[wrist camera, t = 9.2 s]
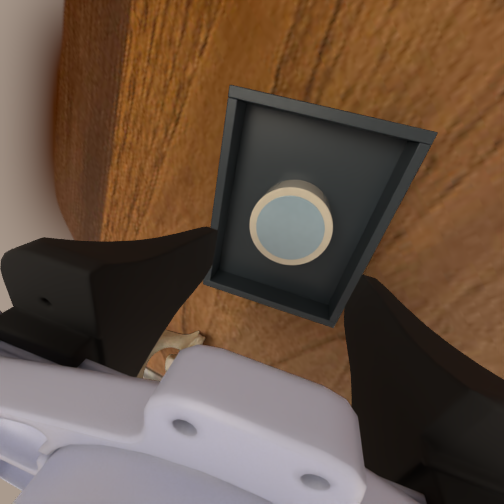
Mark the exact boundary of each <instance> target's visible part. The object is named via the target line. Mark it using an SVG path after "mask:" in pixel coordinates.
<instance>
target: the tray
mask: <svg viewBox="0 0 504 504" xmlns="http://www.w3.org/2000/svg"><path fill="white" fill-rule="evenodd" d="M228 97H229V98H228V102H227V109H226V117H225V124H224V132H223V139H222V146H221V154H220V161H219V169H218V176H217V184H216V191H215V198H214V206H213V213H212V221H211V228H213V229H216V230H218V233H217V240H216V246H215V253H214V259H213V265H212V266H211V268H210V270H209V271H208V273H207V275H206V276H205V278H204V280H203V284H204V285H207V286H210V287H213V288H216V289H219V290H222V291H225V292H228V293H231V294H234V295H237V296H240V297H243V298H246V299H249V300H252V301H255V302H258V303H261V304H264V305H267V306H270V307H272V308H275V309H278V310H281V311H284V312H287V313H290V314H293V315H296V316H299V317H302V318H305V319H308V320H311V321H314V322H317V323H320V324H323V325H326V326H329V327H332V328H334V326H335V324H336V322H337V321H338V319H339V317H340V315H341V313H342V311H343V309H344V308H345V305H346V303H347V301H348V300H349V298H350V296H351V294H352V292H353V290H354V288H355V286H356V285H357V283H358V281H359V279H360V277H361V275H362V274H363V272H364V270H365V268H366V266H367V265H368V263H369V261H370V259H371V257H372V255H373V253H374V252H375V250H376V248H377V246H378V244H379V242H380V240H381V238H382V237H383V235H384V233H385V231H386V229H387V227H388V225H389V223H390V222H391V220H392V218H393V216H394V214H395V212H396V210H397V209H398V207H399V205H400V203H401V201H402V199H403V197H404V195H405V194H406V192H407V190H408V188H409V186H410V184H411V182H412V180H413V179H414V177H415V175H416V173H417V171H418V169H419V167H420V166H421V164H422V162H423V160H424V158H425V156H426V154H427V152H428V151H429V149H430V147H431V145H432V143H433V141H434V139H435V138H436V136H437V134H438V133H437V132H434V131H430V130H425V129H421V128H417V127H412V126H408V125H404V124H399V123H395V122H391V121H386V120H382V119H377V118H373V117H369V116H364V115H360V114H356V113H351V112H347V111H343V110H338V109H334V108H330V107H325V106H321V105H317V104H312V103H308V102H304V101H299V100H295V99H291V98H286V97H282V96H278V95H273V94H269V93H264V92H260V91H256V90H251V89H247V88H243V87H238V86H234V85H230V86H229V94H228ZM286 180H302V181H306V182H309V183H311V184H313V185H315V186H316V187H318V188H319V189H320V190H321V191H322V192H323V193H324V194H325V196H326V198H327V199H328V201H329V204H330V207H331V213H332V220H333V233H332V237H331V240H330V243H329V245H328V246H327V248H326V249H325V250H324V251H323V253H322V254H321V255H319V256H318V257H317V258H315V259H314V260H312V261H310V262H307V263H304V264H300V265H284V264H280V263H277V262H274V261H272V260H270V259H269V258H267V257H266V256H264V255H263V254H262V253H261V252H260V251H259V250H258V248H257V247H256V246H255V244H254V242H253V240H252V237H251V234H250V227H249V224H250V217H251V213H252V211H253V208H254V207H255V205H256V204H257V202H258V201H259V200H260V199H261V198H262V196H263V195H264V194H265V193H266V192H267V191H268V190H269V189H270V188H271V187H272V186H274V185H276V184H278V183H280V182H283V181H286Z"/></svg>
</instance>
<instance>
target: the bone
mask: <svg viewBox="0 0 504 504" xmlns="http://www.w3.org/2000/svg"><path fill="white" fill-rule="evenodd" d="M199 332H200V331H196V332H194V333H192V334H188V335H183V334H178V333H175V332H171V331H167V330H164V332H163V334H162V335H161V337H160V338H159V340H158V342H157V343H156V345H155V347H154V348H153V350H152V352H151V353H150V355H149V357H148V358H147V360H146V362H145V363H144V365H143V367H142V369H141V370H140V372H139V374H138V376H137V378H143V373H144V370H145V367H146V365H147V363H148V361H149V359H150V358H151V357H152V356H153V355H154V354H155V353H156V352H158V351H159V350H161V349H163V348H169V347H173V348H176V349H179V350H182V349H185V348H188V347H191V346H194V345H200V344H201V345H202V344H203V342H204V340H205V337H202V336H201V335H200V334H199ZM177 355H178V354H170V355H169V356H168V357H167V359H166V362H165V370H166V372H167V370H168V369H169V367H170V366H171V364H172V362H173V361H174V359H175V358H176V356H177Z"/></svg>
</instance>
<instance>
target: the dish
mask: <svg viewBox="0 0 504 504" xmlns="http://www.w3.org/2000/svg"><path fill="white" fill-rule="evenodd" d="M249 227H250V234H251V237H252V240H253V242H254V244H255V246H256V247H257V248H258V250H259V251H260V252H261V253H262V254H263V255H264V256H266V257H267V258H269V259H270V260H272V261H274V262H277V263H280V264H284V265H300V264H304V263H307V262H310V261H312V260H314V259H315V258H317V257H318V256H319V255H321V254H322V253H323V251H324V250H325V249H326V248H327V246H328V245H329V243H330V240H331V237H332V233H333V220H332V213H331V207H330V204H329V201H328V199H327V198H326V196H325V194H324V193H323V192H322V191H321V190H320V189H319V188H318V187H316V186H315V185H313V184H311V183H309V182H306V181H302V180H286V181H283V182H280V183H278V184H276V185H274V186H272V187H271V188H270V189H269V190H268V191H267V192H266V193H265V194H264V195H263V196H262V198H261V199H260V200H259V201H258V202H257V204H256V205H255V207H254V208H253V211H252V213H251V217H250V224H249Z"/></svg>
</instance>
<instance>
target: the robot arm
mask: <svg viewBox="0 0 504 504" xmlns="http://www.w3.org/2000/svg"><path fill="white" fill-rule="evenodd" d="M217 233H218V230H216V229H213V228H209V227H201V228H197V229H193V230H189V231H185V232H181V233H177V234H172V235H168V236H163V237H158V238H152V239H144V240H135V241H115V242H96V241H75V240H64V239H54V238H45V237H44V238H40V239H37V240H35V241H32V242H30V243H27V244H24V245H22V246H19V247H16V248H14V249H11V250H10V251H8V252H6V253H5V254H4V256H3V257H2V259H1V273H2V276H3V280H4V282H5V285H6V288H7V290H8V293H9V296H10V299H11V301H12V304H13V306H14V307H12V308H10V309H9V310H7V311H5V312H3V313H2V312H1V311H0V478H1V479H3V480H4V481H6V482H8V483H9V484H11V485H13V486H15V487H16V488H18V489H20V490H21V491H22V492H21V493H20V494H19V496H18V497H17V498H16V499H15V501H14V502H13V503H12V504H504V380H503V379H502V378H500V377H498V376H497V375H495V374H493V373H492V372H490V371H489V370H487V369H485V368H484V367H482V366H481V365H479V364H478V363H476V362H475V361H473V360H472V359H470V358H469V357H467V356H466V355H464V354H463V353H461V352H460V351H459V350H457V349H456V348H454V347H453V346H452V345H450V344H449V343H448V342H446V341H445V340H444V339H442V338H441V337H440V336H439V335H437V334H436V333H435V332H433V331H432V330H431V329H430V328H429V327H427V326H426V325H425V324H424V323H423V322H422V321H420V320H419V319H418V318H417V317H416V316H415V315H414V314H413V313H412V312H410V311H409V310H408V309H407V308H406V307H405V306H404V305H403V304H402V303H401V302H400V301H399V300H398V299H397V298H396V297H395V296H394V295H393V294H392V293H391V292H390V291H389V290H388V289H387V288H386V287H385V286H384V285H383V284H381V283H380V282H379V281H378V280H377V279H375V278H372V277H369V276H366V275H361V277H360V279H359V281H358V283H357V285H356V286H355V288H354V290H353V292H352V294H351V296H350V298H349V300H348V301H347V303H346V305H345V309H344V327H345V335H346V342H347V349H348V356H349V363H350V371H351V388H352V407H351V406H350V404H349V402H348V401H347V400H346V399H345V398H343V397H342V396H340V395H338V394H337V393H335V392H333V391H332V390H330V389H328V388H326V387H325V386H323V385H321V384H318V383H315V382H312V381H310V380H307V379H304V378H302V377H299V376H296V375H293V374H291V373H288V372H285V371H282V370H280V369H277V368H274V367H272V366H269V365H266V364H263V363H261V362H258V361H255V360H253V359H250V358H247V357H244V356H242V355H239V354H236V353H234V352H231V351H228V350H225V349H223V348H219V347H213V346H207V345H201V344H200V345H194V346H191V347H188V348H185V349H182V350H180V351H179V353H178V355H177V356H176V358H175V359H174V361H173V362H172V364H171V366H170V367H169V369H168V370H167V372H166V373H165V375H164V377H163V378H162V380H161V381H156V380H149V379H143V378H137V376H138V374H139V372H140V370H141V369H142V367H143V365H144V363H145V362H146V360H147V358H148V357H149V355H150V353H151V352H152V350H153V348H154V347H155V345H156V343H157V342H158V340H159V338H160V337H161V335H162V334H163V332H164V330H165V329H166V327H167V326H168V324H169V323H170V321H171V320H172V318H173V317H174V315H175V314H176V312H177V311H178V310H179V308H180V307H181V306H182V305H183V304H184V302H185V301H186V300H187V299H188V298H189V296H190V295H191V294H192V293H193V292H194V290H195V289H196V288H197V287H198V285H199V284H200V283H201V282H202V281H203V279H204V278H205V276H206V275H207V273H208V271H209V270H210V268H211V266H212V265H213V259H214V253H215V246H216V240H217Z"/></svg>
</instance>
